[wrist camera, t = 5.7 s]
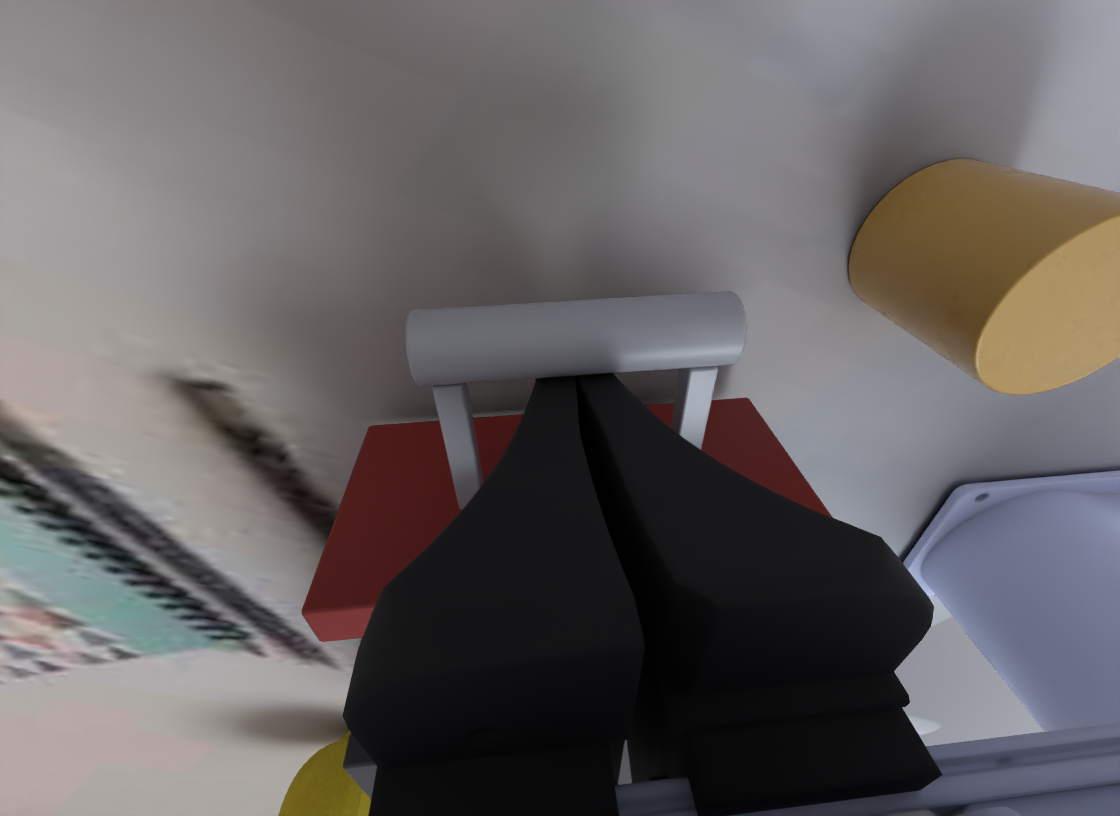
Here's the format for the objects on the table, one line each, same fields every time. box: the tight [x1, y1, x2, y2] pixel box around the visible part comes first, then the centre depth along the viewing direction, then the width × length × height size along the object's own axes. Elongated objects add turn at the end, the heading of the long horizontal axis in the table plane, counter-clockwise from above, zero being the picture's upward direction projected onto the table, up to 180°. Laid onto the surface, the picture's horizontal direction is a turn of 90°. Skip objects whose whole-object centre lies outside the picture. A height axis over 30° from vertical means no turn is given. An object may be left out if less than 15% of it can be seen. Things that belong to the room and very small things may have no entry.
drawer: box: [302, 291, 833, 642], centre depth 14 cm, size 18×11×6 cm, turn 0°
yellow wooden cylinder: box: [849, 159, 1120, 395], centre depth 11 cm, size 4×4×4 cm
